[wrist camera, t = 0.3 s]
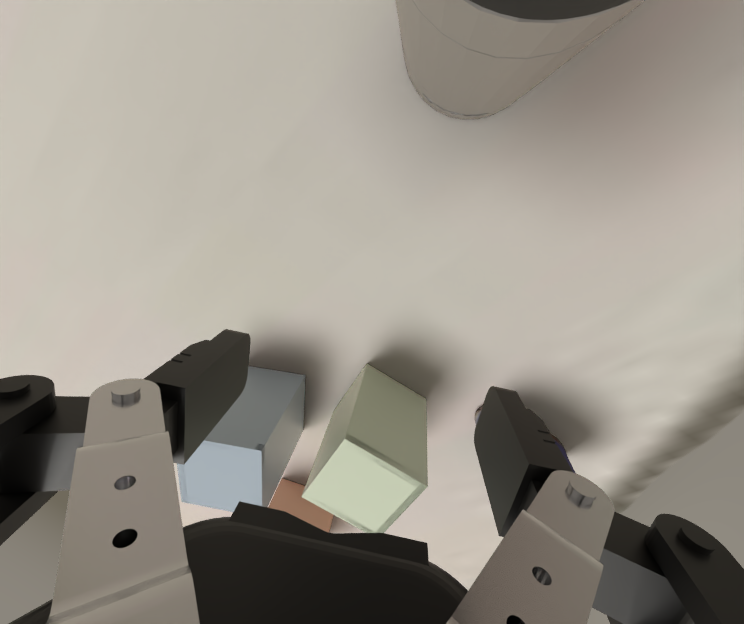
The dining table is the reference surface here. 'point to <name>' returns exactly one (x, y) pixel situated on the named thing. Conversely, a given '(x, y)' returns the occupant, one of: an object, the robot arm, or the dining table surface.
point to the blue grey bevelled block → (247, 444)
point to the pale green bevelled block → (372, 454)
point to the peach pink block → (300, 505)
